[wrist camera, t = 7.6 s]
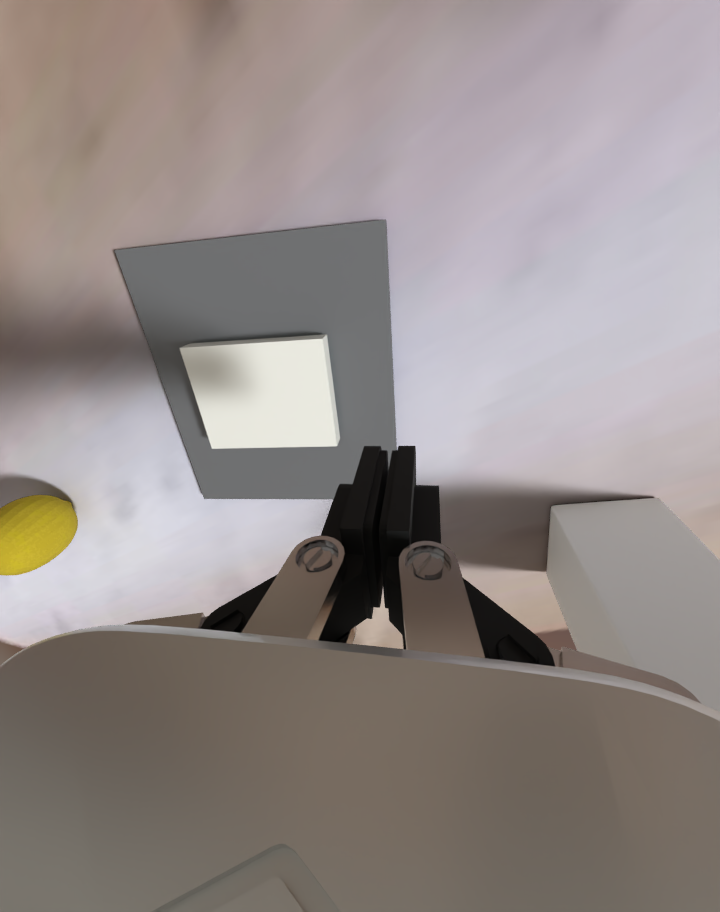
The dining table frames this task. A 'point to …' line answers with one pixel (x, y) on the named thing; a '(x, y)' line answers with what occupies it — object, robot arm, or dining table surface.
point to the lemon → (34, 532)
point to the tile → (264, 392)
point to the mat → (273, 316)
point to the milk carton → (639, 590)
